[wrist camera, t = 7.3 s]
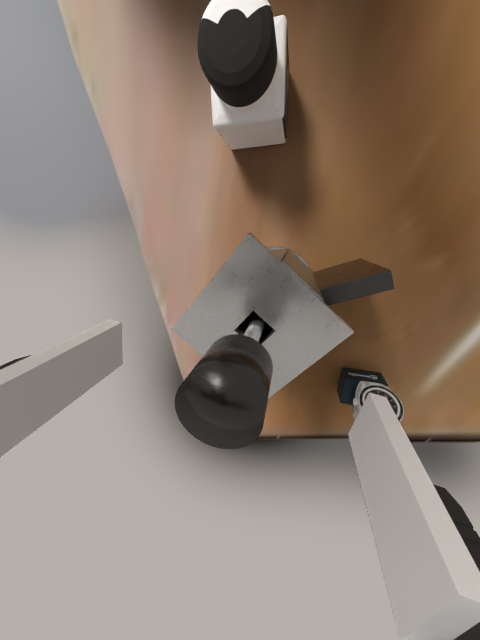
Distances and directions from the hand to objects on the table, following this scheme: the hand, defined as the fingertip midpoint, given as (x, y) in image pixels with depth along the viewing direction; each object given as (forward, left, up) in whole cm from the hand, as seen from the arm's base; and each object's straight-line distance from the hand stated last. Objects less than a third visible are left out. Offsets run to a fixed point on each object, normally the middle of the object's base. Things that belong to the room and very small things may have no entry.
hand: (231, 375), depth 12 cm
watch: (+2, +20, -25) cm, 32 cm away
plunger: (0, 0, -21) cm, 21 cm away
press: (-2, +1, -24) cm, 25 cm away
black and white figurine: (-14, -16, -25) cm, 32 cm away
